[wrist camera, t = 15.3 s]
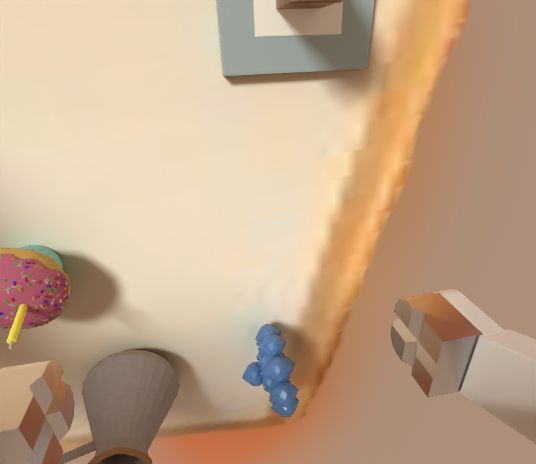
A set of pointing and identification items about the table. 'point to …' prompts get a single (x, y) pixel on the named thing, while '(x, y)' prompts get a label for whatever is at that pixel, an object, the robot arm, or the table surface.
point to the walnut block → (304, 4)
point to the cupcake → (31, 288)
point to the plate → (293, 37)
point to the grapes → (273, 371)
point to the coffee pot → (126, 406)
